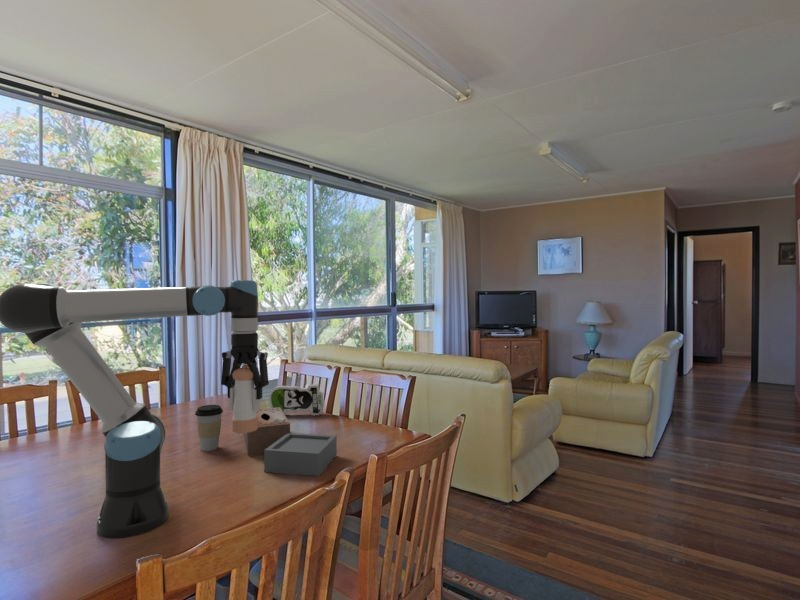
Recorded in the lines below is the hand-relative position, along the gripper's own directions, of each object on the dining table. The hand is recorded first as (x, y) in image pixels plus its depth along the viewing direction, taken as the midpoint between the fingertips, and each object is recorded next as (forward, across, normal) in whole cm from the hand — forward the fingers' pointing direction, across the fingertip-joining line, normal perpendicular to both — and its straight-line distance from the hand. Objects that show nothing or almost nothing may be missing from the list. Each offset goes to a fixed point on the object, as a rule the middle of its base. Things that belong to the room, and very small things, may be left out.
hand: (244, 409), depth 134 cm
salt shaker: (+6, 0, 0) cm, 6 cm away
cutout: (+22, +15, -74) cm, 79 cm away
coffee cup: (+22, +28, -26) cm, 44 cm away
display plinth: (+22, -11, -18) cm, 30 cm away
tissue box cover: (+23, +11, -36) cm, 44 cm away
